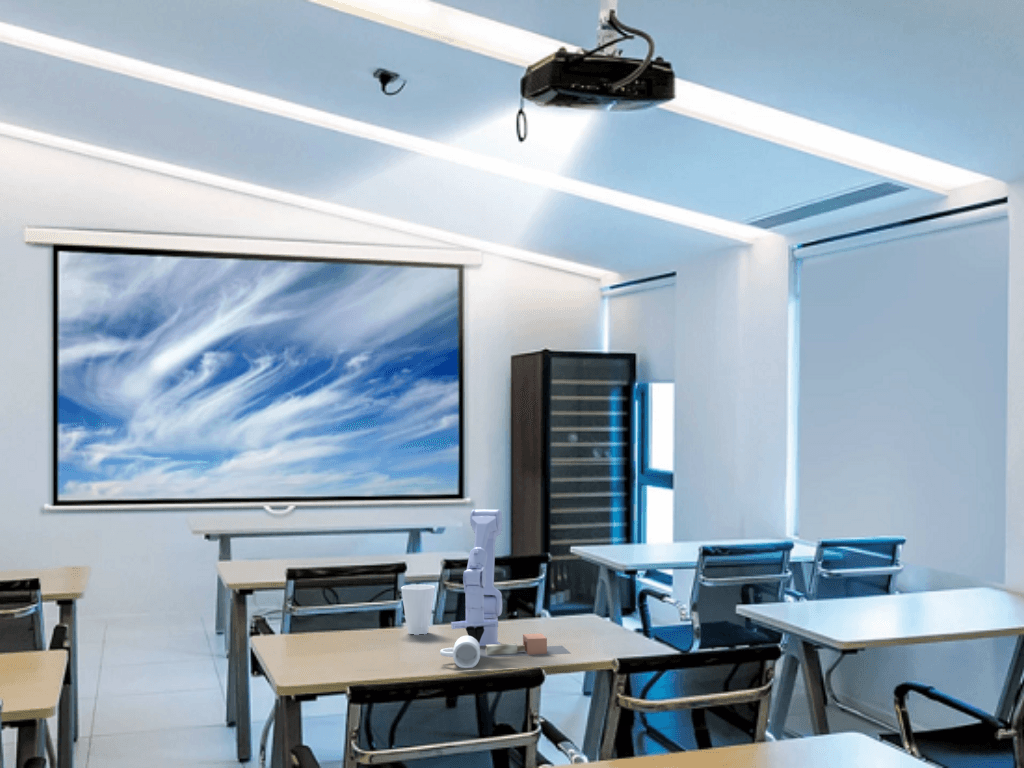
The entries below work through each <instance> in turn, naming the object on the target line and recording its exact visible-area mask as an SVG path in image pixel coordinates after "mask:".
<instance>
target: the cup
mask: <svg viewBox="0 0 1024 768" xmlns="http://www.w3.org/2000/svg"><path fill="white" fill-rule="evenodd" d="M435 588H436V586H435V585H432V584H423V583H422V584H419V583H418V584H406V585H403V586H401V587H400V589H401V596H402V602H403V609H404V611H403V612H404V617H405V618H404V619H405V625H406V627H407V634H408V633H409V634H408V635H410V634H414V635H413V636H420V635H419V634H424V635H427V633H428V634H429V627H430V626H431V620H432V613H433V612H432V611H433V605H434V604H433V603H434V596H435Z"/></svg>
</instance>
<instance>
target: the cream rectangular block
mask: <svg viewBox="0 0 1024 768" xmlns="http://www.w3.org/2000/svg"><path fill="white" fill-rule="evenodd" d="M485 649H486V654H487V655H495V654H515V653H517V651H525V645H523V644H519V645H518V644H517V643H500V644H491V645H486V646H485Z"/></svg>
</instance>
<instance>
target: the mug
mask: <svg viewBox="0 0 1024 768" xmlns="http://www.w3.org/2000/svg"><path fill="white" fill-rule="evenodd" d="M480 650H481V646H480V645H479V643H478V641H477V640H476V639H475V638H474V637H472V636H468V635H462V636H460V637H458V638H457V640H456V641H455V643H454V644H453V647H446V648H441V649H440V650H439V654H440V655H441V656H442V657H447V658H448V657H449V658H453V661H454V663H455V665H456V666H457V667H459V668H460V669H461V668H462V669H464V668H465V669H467V668H475V667H476V666H477V665H478V663H479V661H480V659H481V658H480Z"/></svg>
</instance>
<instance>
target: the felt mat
mask: <svg viewBox="0 0 1024 768" xmlns="http://www.w3.org/2000/svg"><path fill="white" fill-rule="evenodd" d="M565 654H571V651H569V649H567V648H565V646H563V645H547V654H532V655H528V654H527V651H517V653H515V654H495V655H487V654H486V648H484V649H480V659H485V658H487V659H488V658H505V657H525V656H527V657H528V656H529V657H530V656H545V655H565Z"/></svg>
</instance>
